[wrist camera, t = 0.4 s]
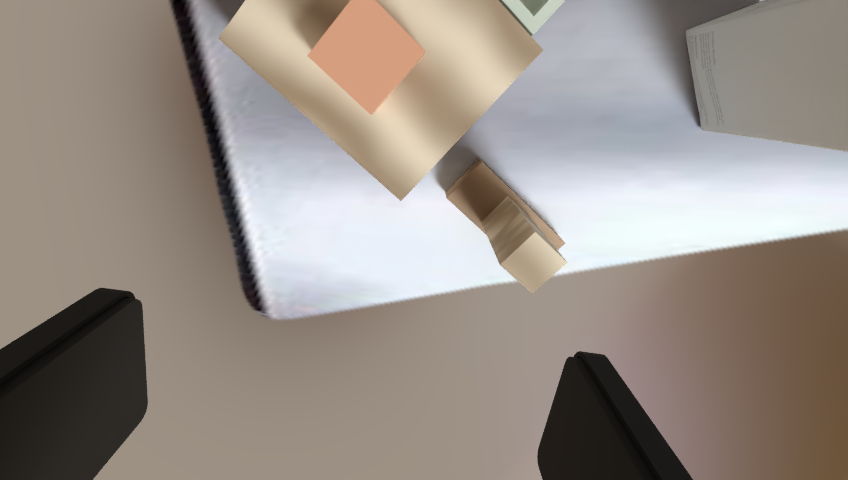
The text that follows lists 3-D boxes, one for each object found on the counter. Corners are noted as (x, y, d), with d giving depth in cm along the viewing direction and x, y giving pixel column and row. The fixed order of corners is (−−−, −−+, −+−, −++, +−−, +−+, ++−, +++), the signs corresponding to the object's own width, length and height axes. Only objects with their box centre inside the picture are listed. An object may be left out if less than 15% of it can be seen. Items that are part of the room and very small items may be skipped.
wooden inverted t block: (478, 157, 36) (502, 188, 26) (558, 235, 39) (608, 291, 28) (445, 192, 37) (454, 234, 27) (524, 265, 40) (561, 330, 29)
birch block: (367, -120, 30) (356, -158, 25) (526, 54, 33) (543, 50, 29) (247, 44, 33) (218, 38, 28) (403, 185, 37) (400, 200, 32)
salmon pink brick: (367, -5, 28) (361, -14, 25) (425, 54, 29) (425, 51, 26) (318, 58, 29) (307, 55, 26) (375, 111, 30) (370, 115, 27)
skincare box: (770, 105, 35) (1003, 121, 21) (694, 132, 36) (871, 165, 22) (759, -6, 32) (1019, -74, 18) (677, 25, 33) (867, -16, 19)
